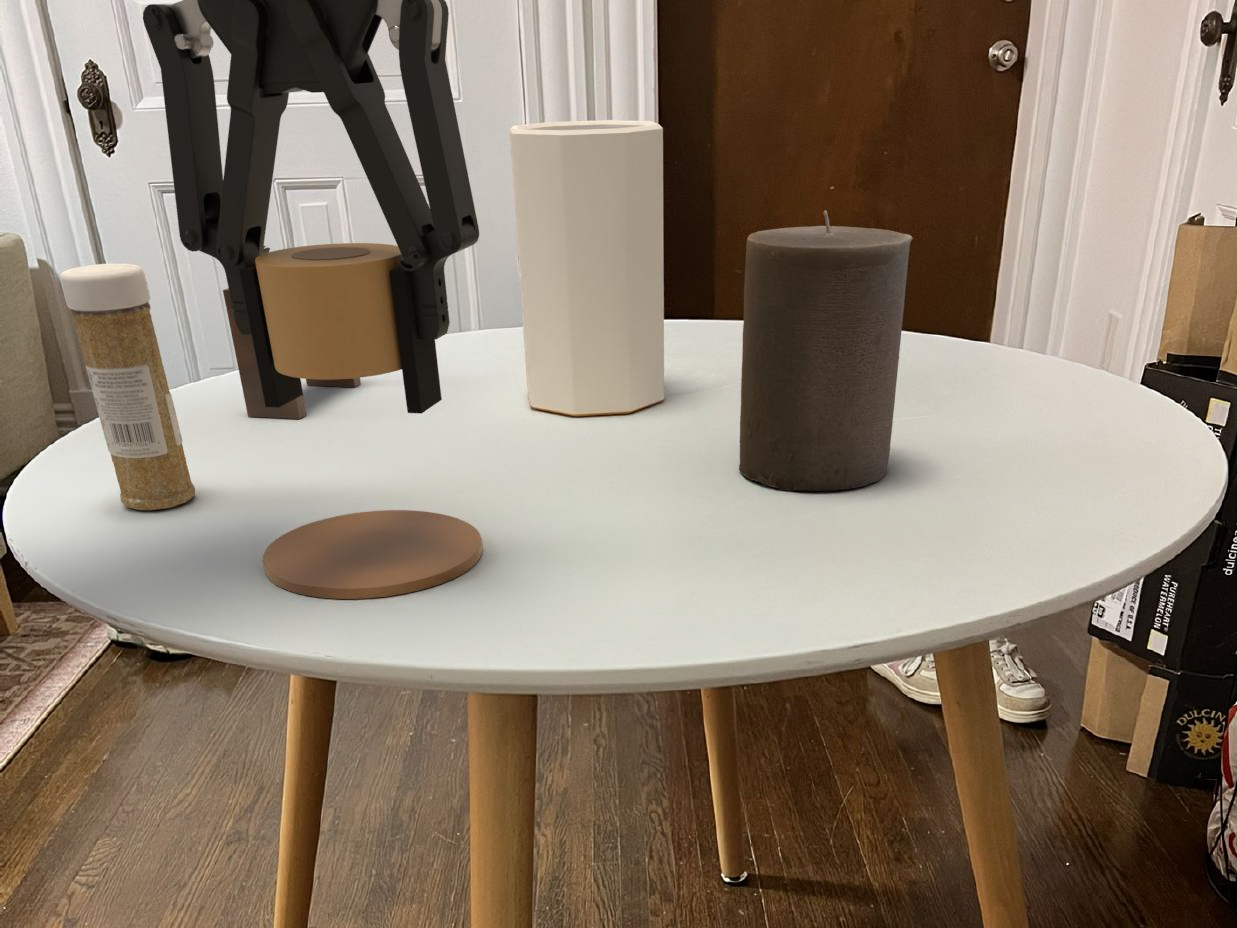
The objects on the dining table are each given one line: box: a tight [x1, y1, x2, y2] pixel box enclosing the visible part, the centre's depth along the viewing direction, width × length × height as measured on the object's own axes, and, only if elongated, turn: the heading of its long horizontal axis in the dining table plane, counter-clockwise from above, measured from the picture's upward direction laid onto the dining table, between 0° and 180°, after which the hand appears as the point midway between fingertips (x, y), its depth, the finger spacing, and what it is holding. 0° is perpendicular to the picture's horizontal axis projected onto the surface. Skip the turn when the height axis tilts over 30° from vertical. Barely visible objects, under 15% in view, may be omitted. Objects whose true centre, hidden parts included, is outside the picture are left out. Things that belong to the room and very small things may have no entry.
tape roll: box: [255, 242, 404, 380], centre depth 58 cm, size 7×7×5 cm
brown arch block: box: [222, 287, 362, 420], centre depth 92 cm, size 4×11×9 cm, turn 166°
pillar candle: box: [738, 210, 914, 492], centre depth 73 cm, size 10×10×15 cm
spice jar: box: [59, 263, 196, 511], centre depth 71 cm, size 5×5×14 cm
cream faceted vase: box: [509, 119, 665, 417], centre depth 88 cm, size 11×11×18 cm
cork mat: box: [262, 509, 483, 600], centre depth 65 cm, size 12×12×1 cm
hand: (353, 402), depth 61 cm, fingers closed on tape roll, 7 cm apart
